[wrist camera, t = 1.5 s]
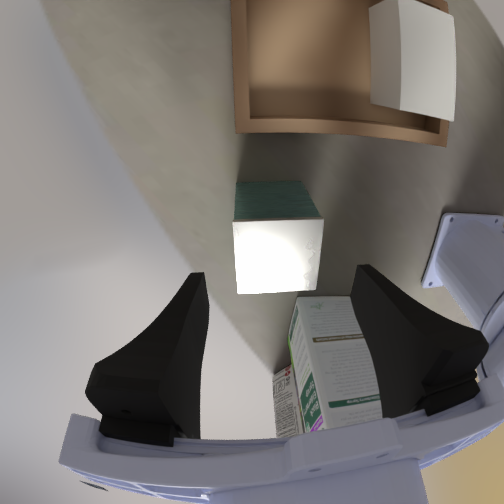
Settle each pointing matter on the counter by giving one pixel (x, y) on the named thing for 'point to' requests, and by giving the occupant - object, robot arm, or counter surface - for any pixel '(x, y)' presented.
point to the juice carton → (286, 404)
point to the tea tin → (276, 237)
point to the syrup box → (331, 365)
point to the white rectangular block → (413, 58)
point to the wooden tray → (315, 72)
